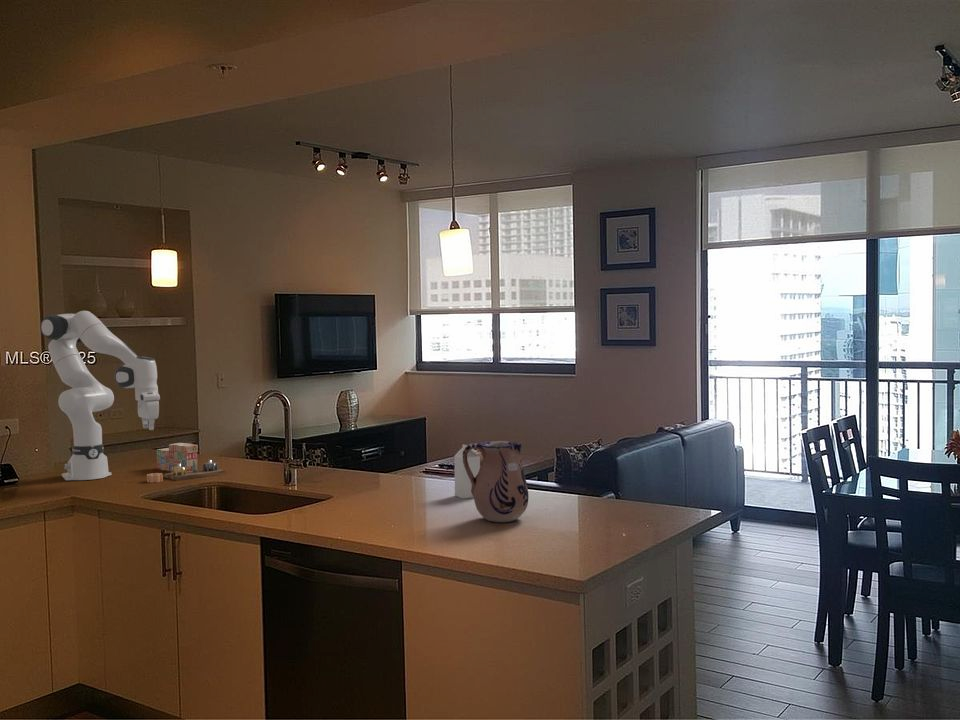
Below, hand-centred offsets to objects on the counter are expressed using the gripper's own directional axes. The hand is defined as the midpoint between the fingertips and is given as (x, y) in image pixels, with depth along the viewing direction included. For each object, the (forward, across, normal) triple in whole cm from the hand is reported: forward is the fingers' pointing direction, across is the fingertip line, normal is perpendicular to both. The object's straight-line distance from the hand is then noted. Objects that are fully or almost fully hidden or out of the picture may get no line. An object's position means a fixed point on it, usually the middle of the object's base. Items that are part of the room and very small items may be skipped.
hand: (148, 429), depth 349 cm
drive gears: (+21, -5, +20) cm, 29 cm away
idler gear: (+22, -2, +2) cm, 22 cm away
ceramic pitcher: (+27, +143, +73) cm, 163 cm away
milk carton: (+26, +105, +87) cm, 139 cm away
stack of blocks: (+22, -25, +17) cm, 37 cm away
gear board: (+22, -6, +20) cm, 30 cm away
